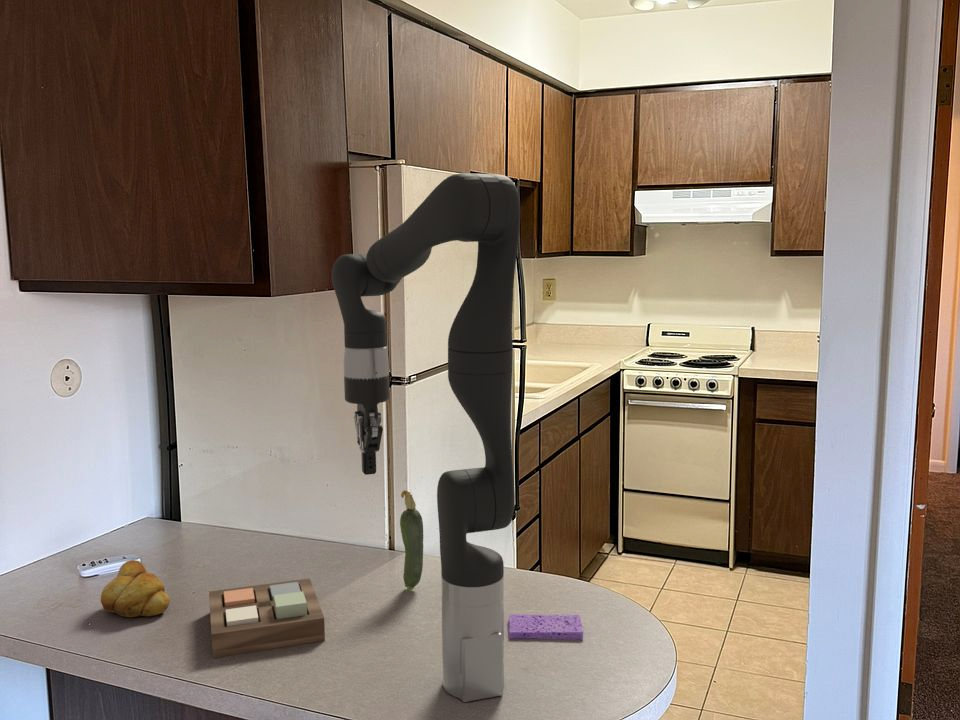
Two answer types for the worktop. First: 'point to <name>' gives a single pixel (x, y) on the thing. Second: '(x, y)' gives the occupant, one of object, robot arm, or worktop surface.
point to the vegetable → (412, 541)
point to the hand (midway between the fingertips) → (369, 473)
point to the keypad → (264, 623)
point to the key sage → (290, 605)
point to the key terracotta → (239, 597)
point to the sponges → (545, 626)
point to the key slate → (283, 589)
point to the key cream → (241, 615)
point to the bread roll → (135, 592)
